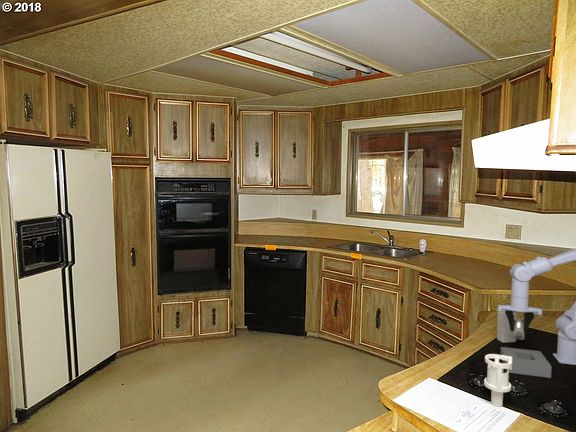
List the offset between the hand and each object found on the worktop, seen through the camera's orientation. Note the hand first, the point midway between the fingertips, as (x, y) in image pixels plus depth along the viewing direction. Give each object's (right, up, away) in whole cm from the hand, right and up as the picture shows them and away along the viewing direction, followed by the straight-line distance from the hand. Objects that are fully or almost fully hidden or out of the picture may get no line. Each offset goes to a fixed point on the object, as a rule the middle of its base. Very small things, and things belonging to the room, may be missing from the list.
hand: (518, 331), depth 151 cm
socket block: (-3, -10, -9) cm, 14 cm away
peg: (0, -3, 0) cm, 3 cm away
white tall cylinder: (-26, -12, -33) cm, 44 cm away
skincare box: (+4, -9, +15) cm, 18 cm away
